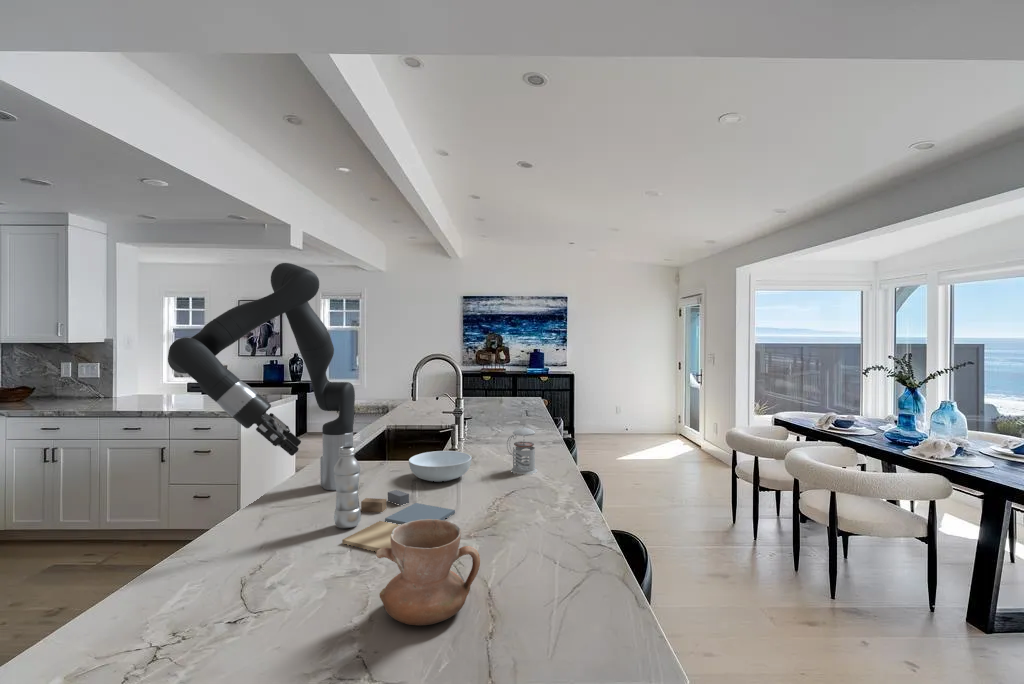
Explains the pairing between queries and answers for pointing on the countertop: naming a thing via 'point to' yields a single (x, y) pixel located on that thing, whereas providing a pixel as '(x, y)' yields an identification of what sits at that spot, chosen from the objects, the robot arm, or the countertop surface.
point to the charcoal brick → (398, 497)
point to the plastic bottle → (347, 489)
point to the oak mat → (372, 536)
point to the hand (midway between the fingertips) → (297, 448)
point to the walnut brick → (373, 505)
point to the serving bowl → (440, 465)
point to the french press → (523, 452)
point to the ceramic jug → (426, 572)
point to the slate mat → (419, 513)
